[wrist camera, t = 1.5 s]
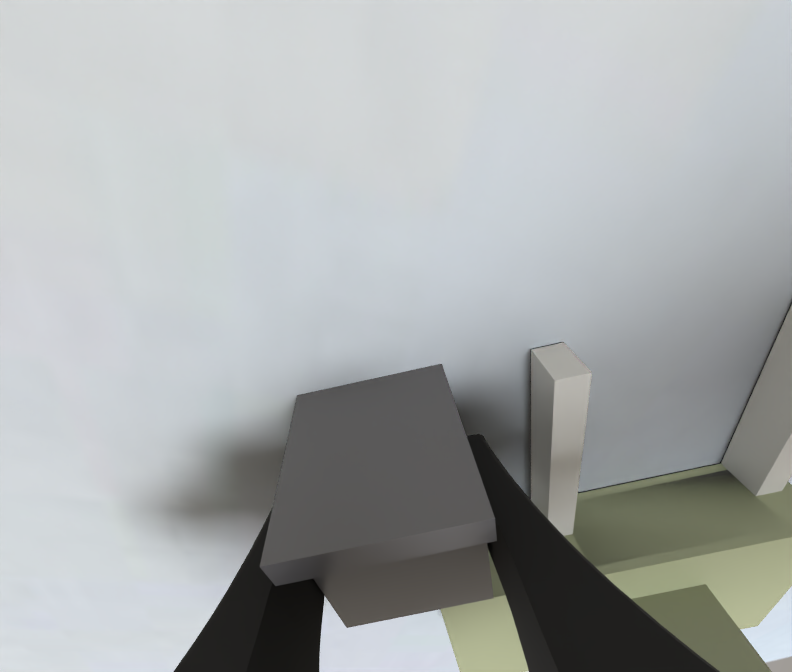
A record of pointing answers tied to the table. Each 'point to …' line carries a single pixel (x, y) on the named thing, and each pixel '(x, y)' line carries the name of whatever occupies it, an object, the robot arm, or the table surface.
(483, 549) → the grey overhanging lid block
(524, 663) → the green post base
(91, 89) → the table surface
